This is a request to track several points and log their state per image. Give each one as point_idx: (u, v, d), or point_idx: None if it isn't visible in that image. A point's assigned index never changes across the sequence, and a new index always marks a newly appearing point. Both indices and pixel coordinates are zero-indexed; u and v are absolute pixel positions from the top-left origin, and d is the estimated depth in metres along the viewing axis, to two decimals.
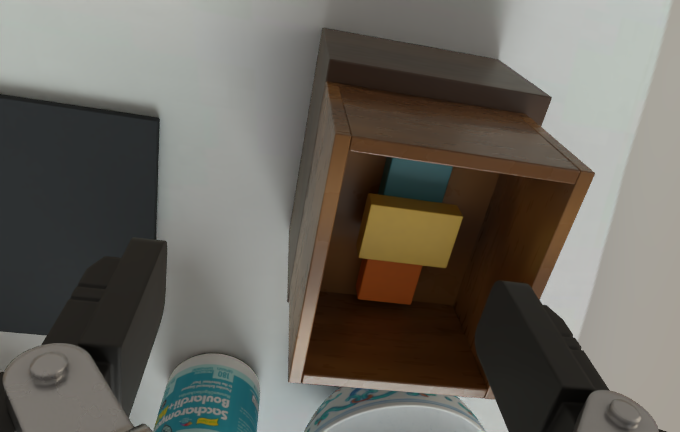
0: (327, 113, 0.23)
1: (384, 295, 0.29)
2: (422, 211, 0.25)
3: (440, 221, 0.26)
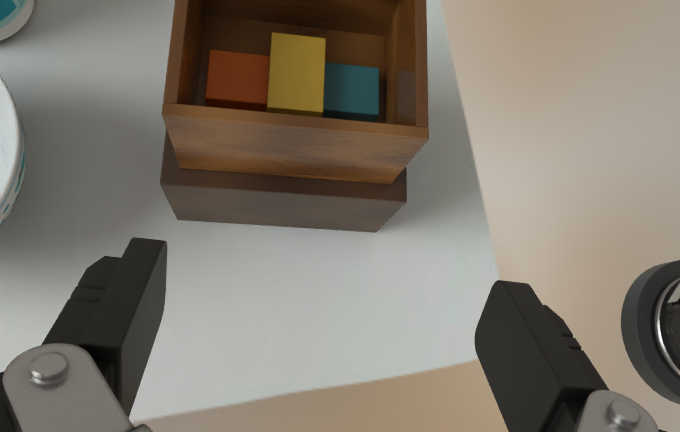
0: None
1: (215, 72, 0.30)
2: (323, 78, 0.30)
3: (316, 93, 0.29)
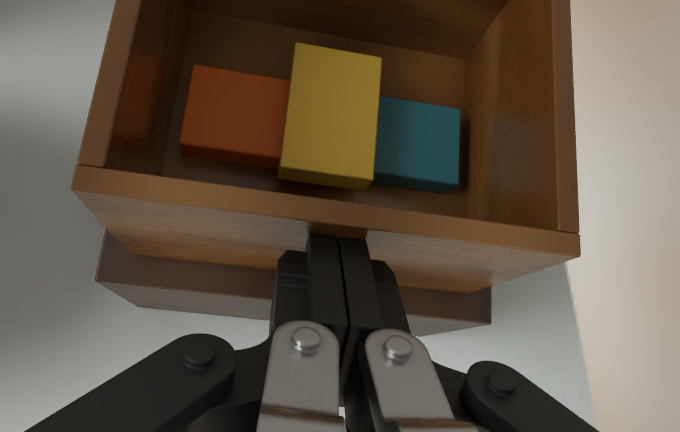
0: None
1: (200, 101, 0.18)
2: (376, 122, 0.18)
3: (363, 148, 0.18)
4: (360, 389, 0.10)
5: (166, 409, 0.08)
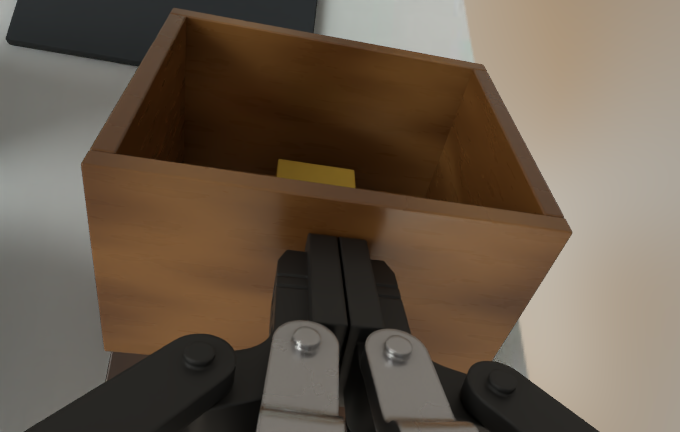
0: None
1: None
2: None
3: None
4: (360, 389, 0.10)
5: (166, 409, 0.08)
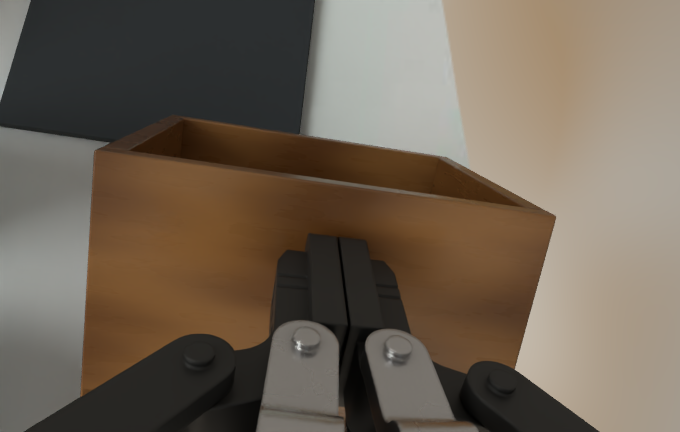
0: None
1: None
2: None
3: None
4: (360, 389, 0.10)
5: (166, 409, 0.08)
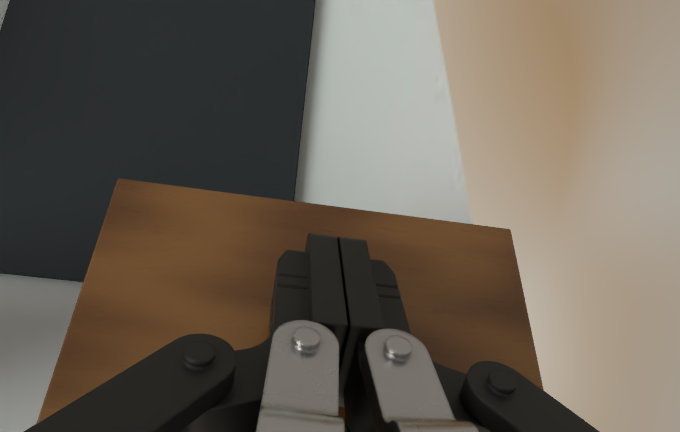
0: None
1: None
2: None
3: None
4: (360, 389, 0.10)
5: (166, 409, 0.08)
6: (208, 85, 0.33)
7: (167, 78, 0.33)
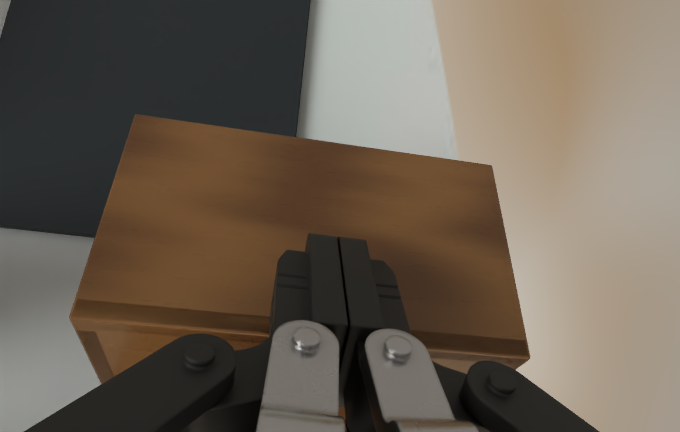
0: None
1: None
2: None
3: None
4: (360, 389, 0.10)
5: (166, 409, 0.08)
6: (211, 53, 0.34)
7: (171, 46, 0.34)
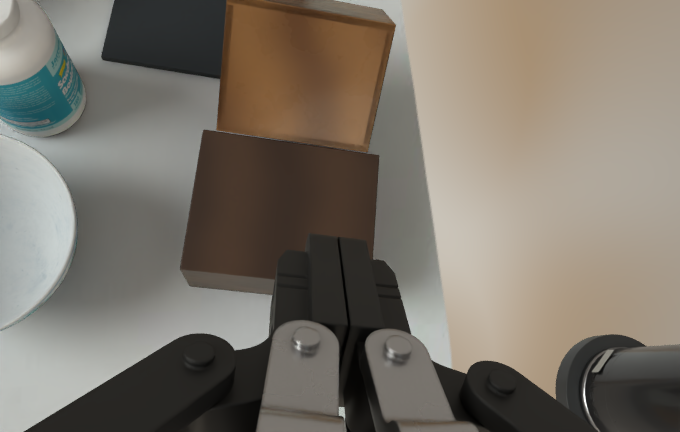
0: None
1: None
2: None
3: None
4: (360, 389, 0.10)
5: (166, 409, 0.08)
6: None
7: None
